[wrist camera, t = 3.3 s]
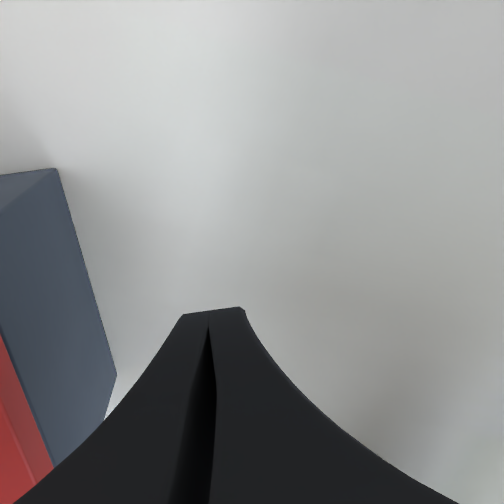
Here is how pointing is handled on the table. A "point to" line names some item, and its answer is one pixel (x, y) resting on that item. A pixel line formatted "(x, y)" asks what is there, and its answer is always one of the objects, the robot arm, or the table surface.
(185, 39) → the table surface
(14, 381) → the two-tone lidded box
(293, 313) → the table surface
